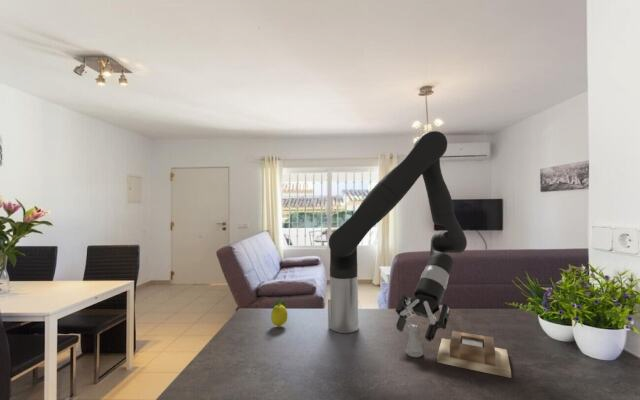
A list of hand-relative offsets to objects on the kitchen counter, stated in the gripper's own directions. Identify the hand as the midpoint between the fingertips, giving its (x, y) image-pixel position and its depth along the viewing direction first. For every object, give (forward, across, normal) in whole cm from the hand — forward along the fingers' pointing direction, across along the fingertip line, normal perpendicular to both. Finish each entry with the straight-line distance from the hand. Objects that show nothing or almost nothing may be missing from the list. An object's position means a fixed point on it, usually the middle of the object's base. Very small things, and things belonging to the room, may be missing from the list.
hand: (412, 334), depth 80 cm
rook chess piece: (+4, 0, +4) cm, 6 cm away
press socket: (-3, +12, +10) cm, 16 cm away
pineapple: (+15, -41, -7) cm, 44 cm away
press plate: (-5, +12, +8) cm, 15 cm away
